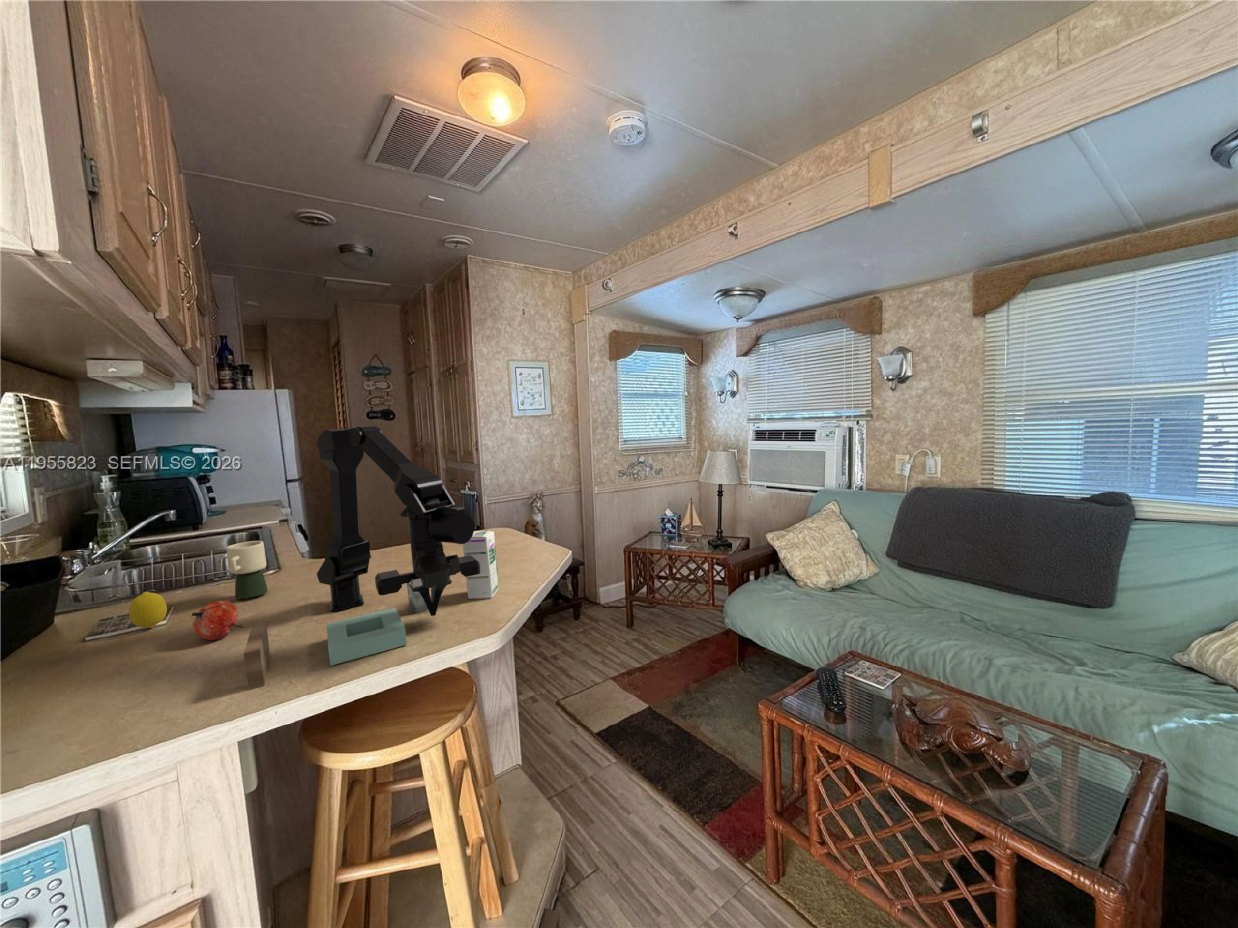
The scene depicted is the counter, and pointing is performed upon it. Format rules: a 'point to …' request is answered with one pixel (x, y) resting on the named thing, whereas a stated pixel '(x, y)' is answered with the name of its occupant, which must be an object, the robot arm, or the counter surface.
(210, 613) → the red rounded lumpy piece
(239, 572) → the character mug
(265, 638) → the backstop wall
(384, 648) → the socket block
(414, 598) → the dowel
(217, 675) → the counter surface
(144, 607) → the lemon
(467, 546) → the syrup box
